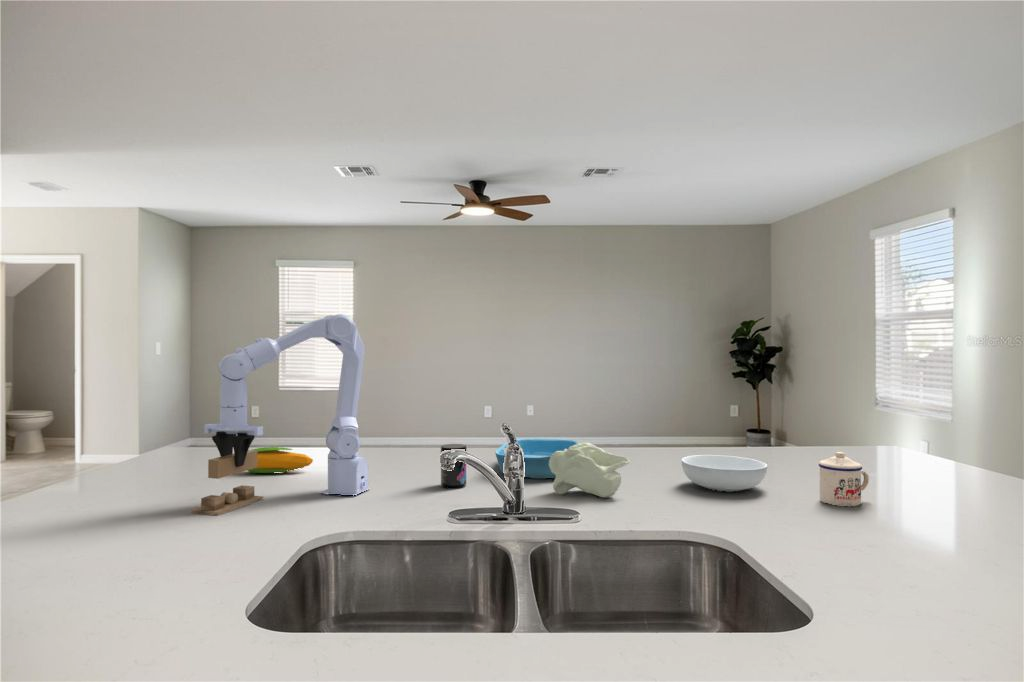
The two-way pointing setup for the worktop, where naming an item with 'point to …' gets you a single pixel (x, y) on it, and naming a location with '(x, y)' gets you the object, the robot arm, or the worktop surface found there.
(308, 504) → the worktop surface
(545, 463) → the casserole dish
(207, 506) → the display stand
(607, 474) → the folded clay sculpture
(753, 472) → the serving bowl
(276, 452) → the corn
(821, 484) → the teacup with lid
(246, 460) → the long wooden plank
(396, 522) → the worktop surface
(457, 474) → the supplement container
